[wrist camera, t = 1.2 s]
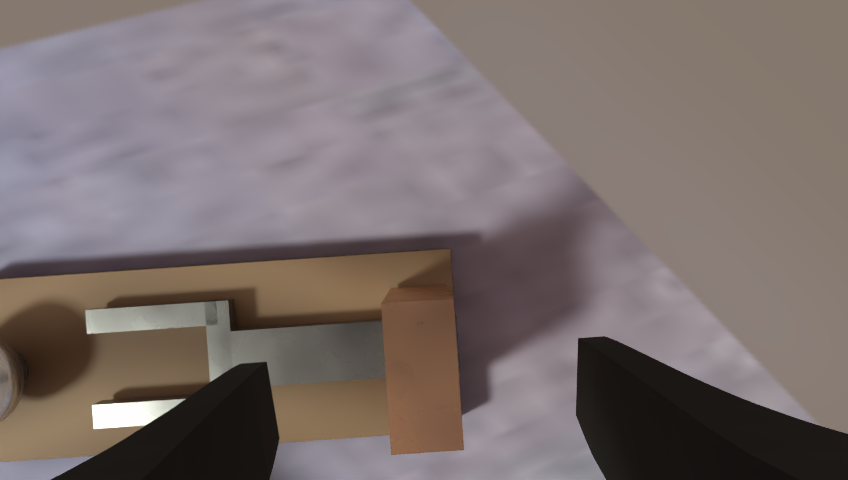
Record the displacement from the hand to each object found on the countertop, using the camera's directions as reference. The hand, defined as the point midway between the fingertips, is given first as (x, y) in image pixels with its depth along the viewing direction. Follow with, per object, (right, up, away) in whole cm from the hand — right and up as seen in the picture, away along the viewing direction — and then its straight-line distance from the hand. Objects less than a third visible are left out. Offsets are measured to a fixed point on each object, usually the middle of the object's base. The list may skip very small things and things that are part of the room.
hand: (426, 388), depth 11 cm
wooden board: (-10, -2, +11) cm, 15 cm away
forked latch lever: (-6, -2, +9) cm, 11 cm away
